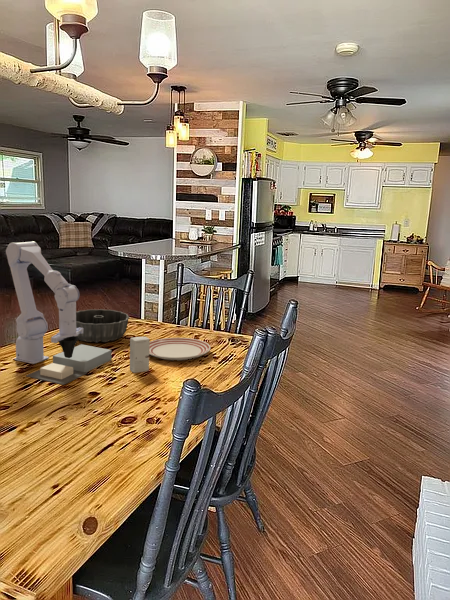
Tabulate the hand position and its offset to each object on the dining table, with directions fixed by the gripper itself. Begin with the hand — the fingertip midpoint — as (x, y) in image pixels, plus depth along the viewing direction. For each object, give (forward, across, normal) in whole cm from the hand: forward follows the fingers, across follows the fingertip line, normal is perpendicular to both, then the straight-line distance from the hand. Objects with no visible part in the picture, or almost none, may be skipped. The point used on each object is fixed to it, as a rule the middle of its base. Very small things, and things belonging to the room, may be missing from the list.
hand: (68, 357), depth 166 cm
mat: (+5, -6, 0) cm, 8 cm away
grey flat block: (+5, +8, 0) cm, 9 cm away
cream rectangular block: (+2, -6, 0) cm, 6 cm away
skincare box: (+5, +12, -22) cm, 26 cm away
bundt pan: (+5, +38, +15) cm, 41 cm away
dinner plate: (+5, +36, -25) cm, 44 cm away
